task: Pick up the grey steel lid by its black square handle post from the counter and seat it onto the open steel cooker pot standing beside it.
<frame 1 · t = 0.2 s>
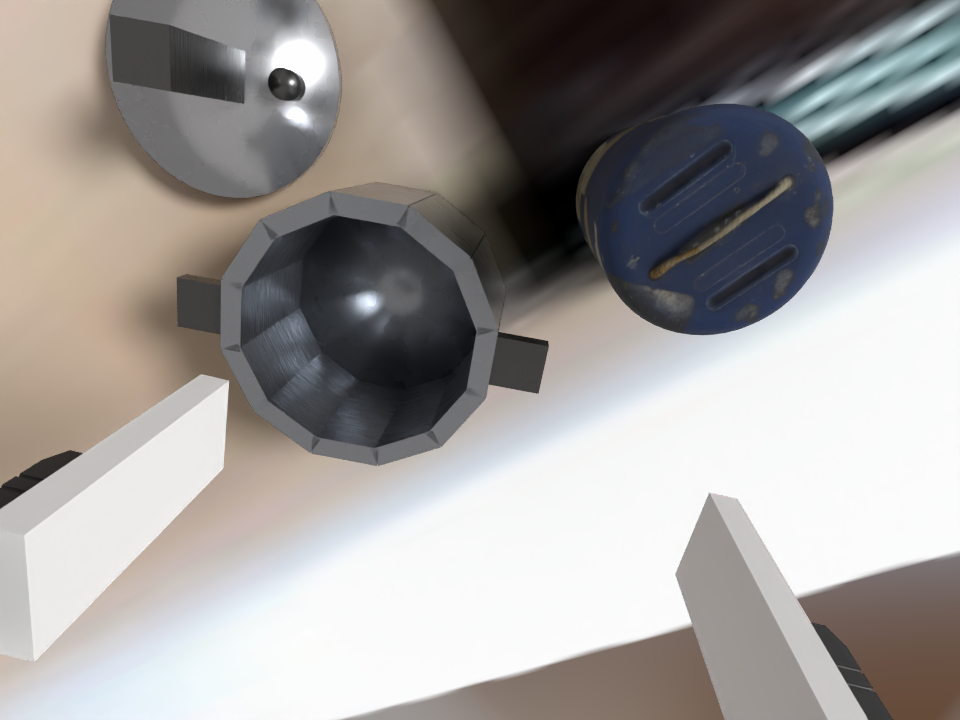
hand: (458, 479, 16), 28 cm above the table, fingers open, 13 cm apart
canister: (643, 198, 39), on the table
lid: (241, 78, 39), on the table
cooker pot: (394, 298, 43), on the table
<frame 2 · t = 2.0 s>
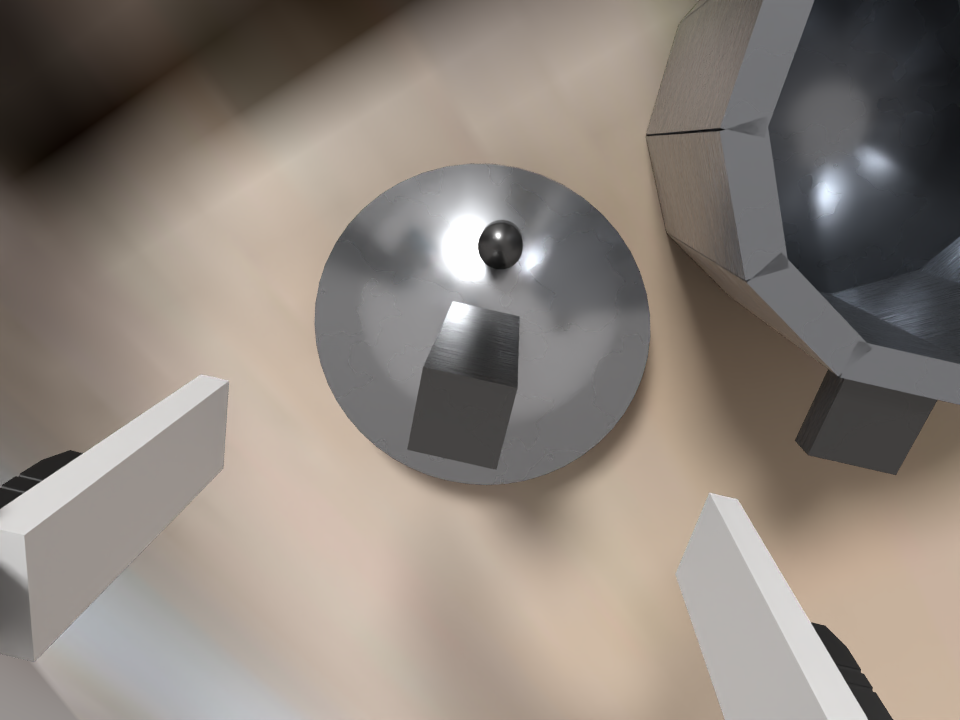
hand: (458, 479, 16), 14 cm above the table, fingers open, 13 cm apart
lid: (483, 323, 28), on the table
cooker pot: (849, 124, 24), on the table
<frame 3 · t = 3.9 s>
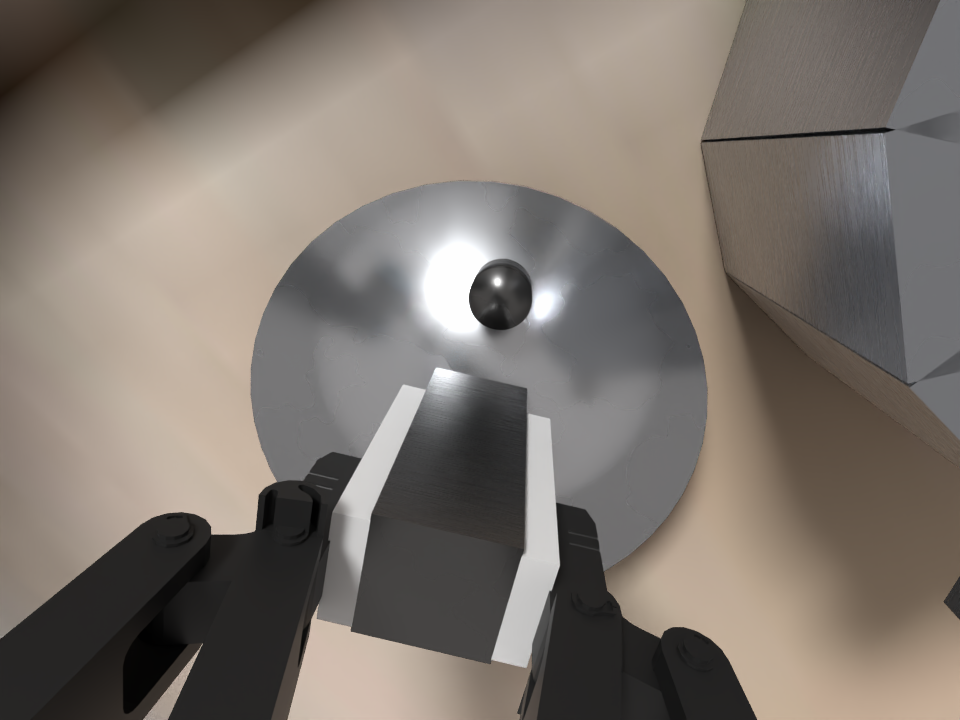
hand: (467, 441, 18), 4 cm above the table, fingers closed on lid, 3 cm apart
lid: (478, 388, 21), on the table, touching gripper
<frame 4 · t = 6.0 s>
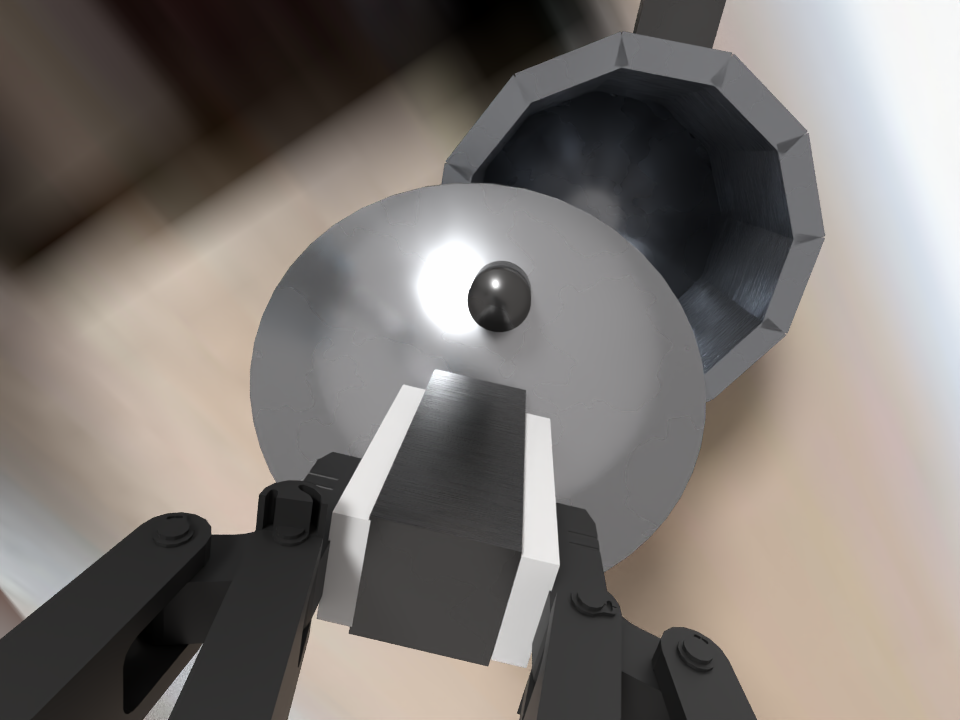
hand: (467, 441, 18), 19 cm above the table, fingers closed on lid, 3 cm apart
lid: (477, 390, 22), point 15 cm above the table, touching gripper
cooker pot: (594, 222, 34), on the table
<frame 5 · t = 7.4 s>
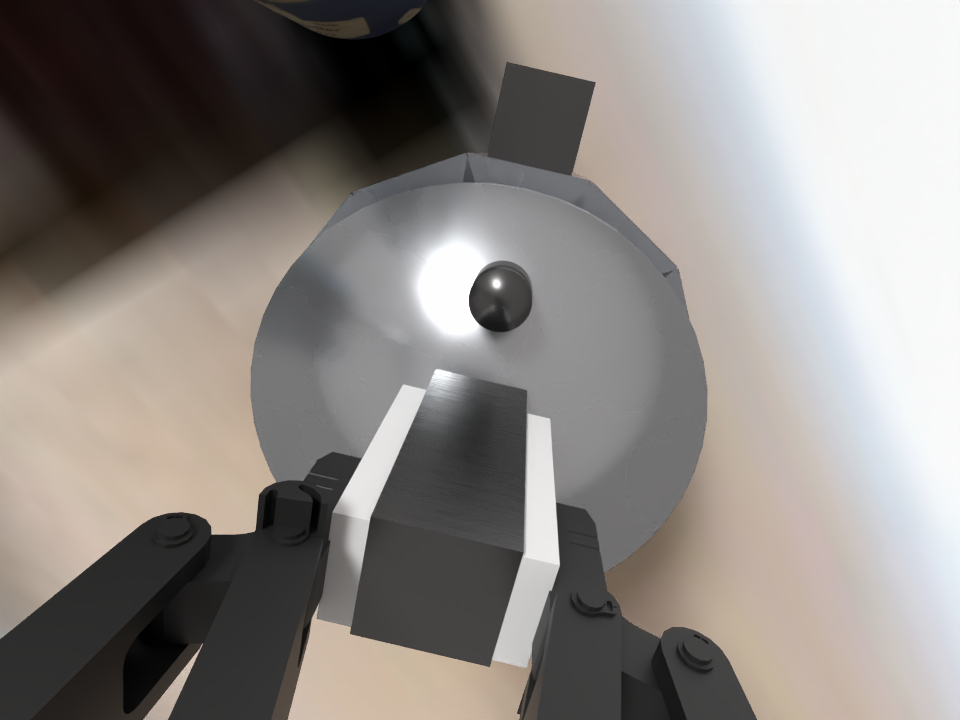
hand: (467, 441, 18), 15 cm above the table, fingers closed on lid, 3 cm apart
lid: (478, 390, 21), point 11 cm above the table, touching gripper
cooker pot: (494, 312, 32), on the table
when the fingers open (14 cm above the table, at t = 8.2 s): lid drops 2 cm, resting on cooker pot.
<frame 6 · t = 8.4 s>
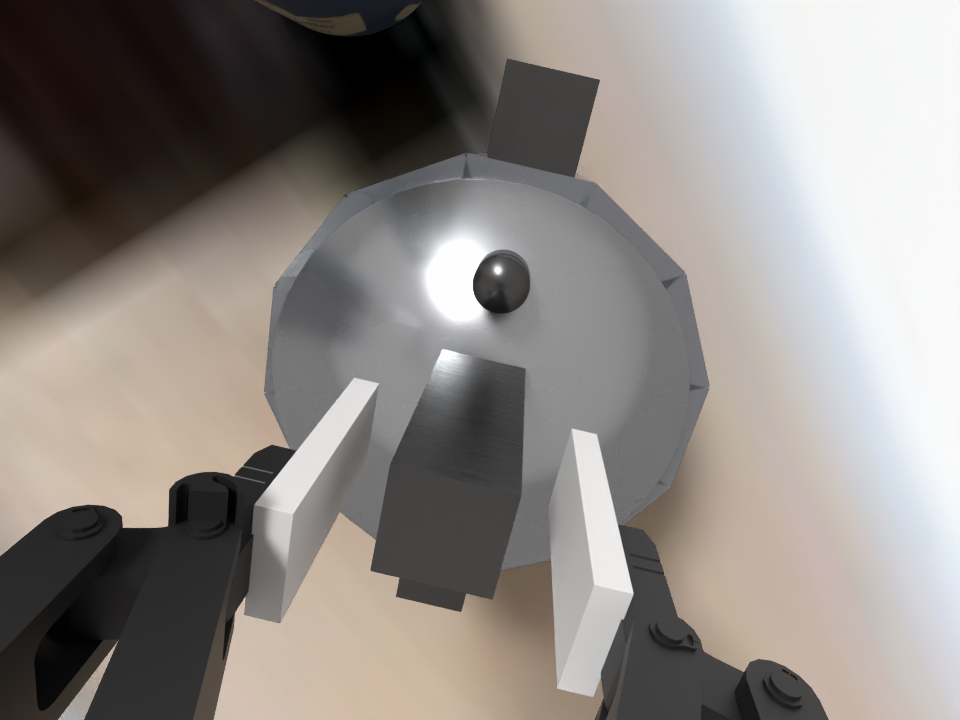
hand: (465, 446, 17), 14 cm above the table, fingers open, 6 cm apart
lid: (481, 371, 23), point 8 cm above the table, touching cooker pot
cooker pot: (494, 317, 31), on the table
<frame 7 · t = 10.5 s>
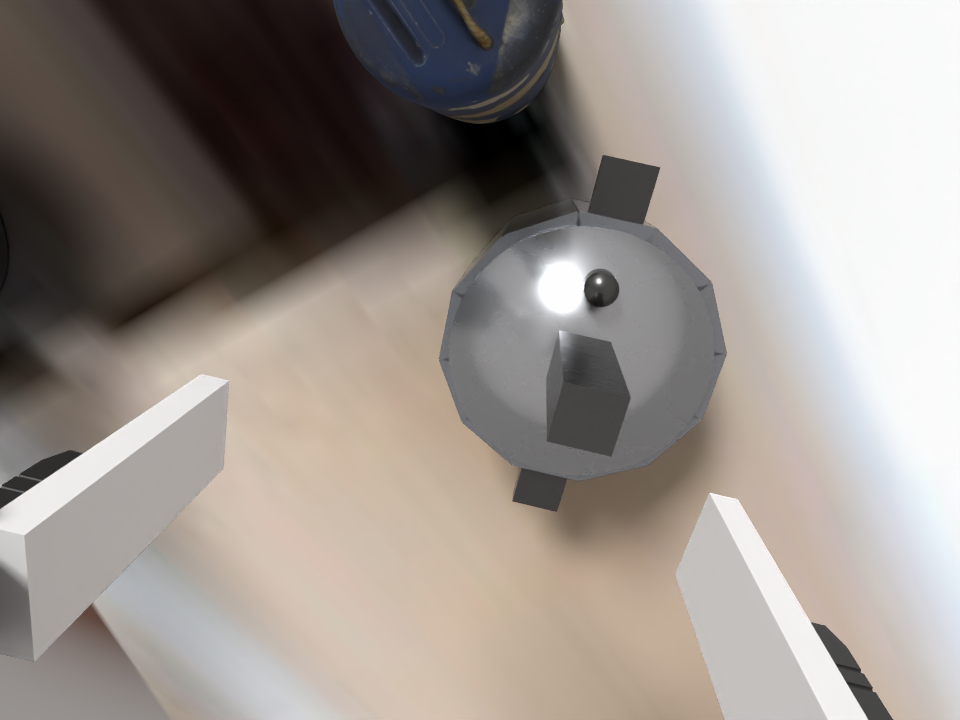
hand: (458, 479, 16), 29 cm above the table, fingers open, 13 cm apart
canister: (484, 48, 38), on the table
lid: (575, 346, 36), point 8 cm above the table, touching cooker pot
cooker pot: (571, 313, 43), on the table
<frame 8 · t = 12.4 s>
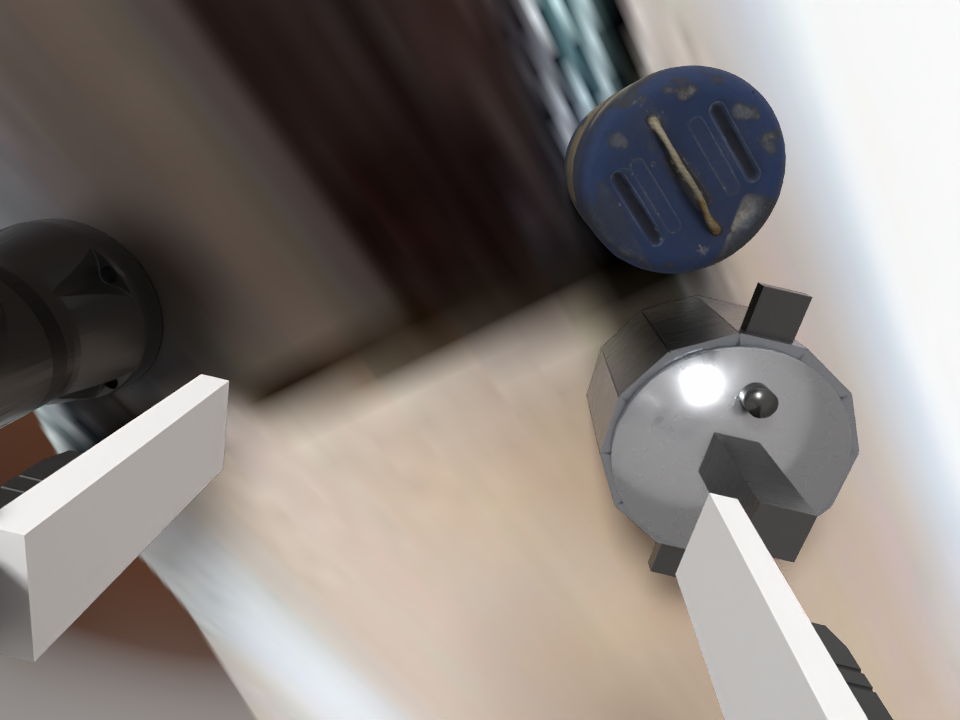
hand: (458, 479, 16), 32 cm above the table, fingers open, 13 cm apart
canister: (627, 166, 42), on the table
lid: (716, 438, 40), point 8 cm above the table, touching cooker pot
cooker pot: (688, 393, 48), on the table
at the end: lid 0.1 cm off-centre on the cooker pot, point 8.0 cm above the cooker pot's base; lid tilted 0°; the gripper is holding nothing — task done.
